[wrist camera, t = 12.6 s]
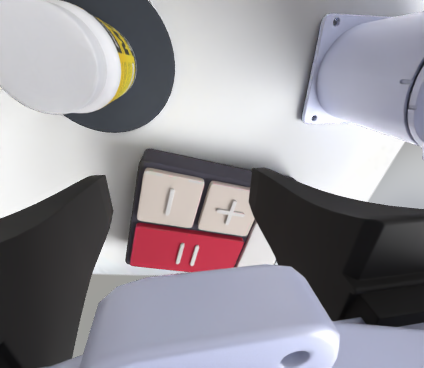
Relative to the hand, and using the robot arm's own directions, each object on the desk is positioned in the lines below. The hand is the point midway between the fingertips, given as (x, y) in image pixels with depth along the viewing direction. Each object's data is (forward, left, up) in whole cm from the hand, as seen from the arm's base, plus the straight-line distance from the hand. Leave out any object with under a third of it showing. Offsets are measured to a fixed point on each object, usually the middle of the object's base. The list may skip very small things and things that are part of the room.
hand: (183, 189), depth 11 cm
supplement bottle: (+5, -6, -9) cm, 12 cm away
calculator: (-3, +8, -10) cm, 13 cm away
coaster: (+5, -6, -9) cm, 12 cm away
